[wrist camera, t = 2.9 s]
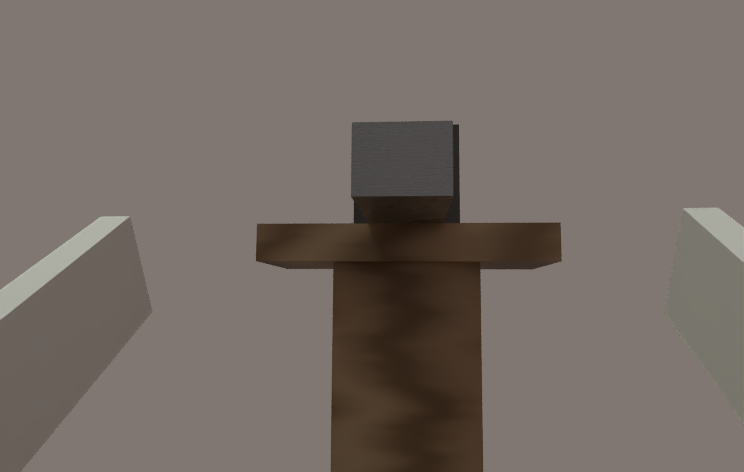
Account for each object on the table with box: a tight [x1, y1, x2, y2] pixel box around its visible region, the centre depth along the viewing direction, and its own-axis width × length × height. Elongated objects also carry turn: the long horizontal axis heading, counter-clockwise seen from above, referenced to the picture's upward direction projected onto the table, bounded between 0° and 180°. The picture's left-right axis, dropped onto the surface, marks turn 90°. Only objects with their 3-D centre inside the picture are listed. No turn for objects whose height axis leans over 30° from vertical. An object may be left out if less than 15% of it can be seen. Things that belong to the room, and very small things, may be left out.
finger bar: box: [351, 121, 460, 223], centre depth 31 cm, size 6×15×6 cm, turn 176°
